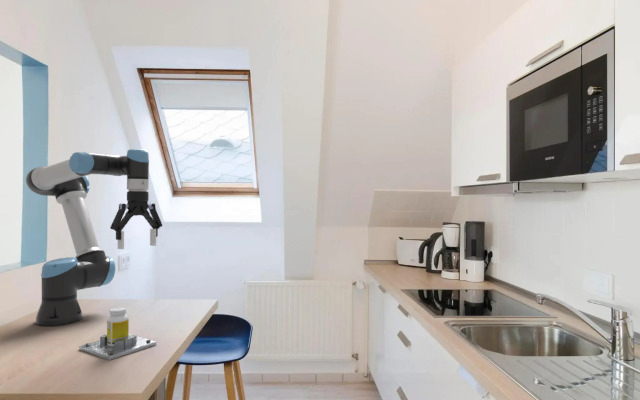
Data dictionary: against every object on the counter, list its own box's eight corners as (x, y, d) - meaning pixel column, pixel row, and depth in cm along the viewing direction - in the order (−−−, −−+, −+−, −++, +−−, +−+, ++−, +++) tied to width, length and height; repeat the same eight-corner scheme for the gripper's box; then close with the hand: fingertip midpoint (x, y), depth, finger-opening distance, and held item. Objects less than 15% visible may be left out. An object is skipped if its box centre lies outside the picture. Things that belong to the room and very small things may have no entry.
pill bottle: (132, 341, 139) (132, 307, 139) (120, 348, 133) (120, 312, 133) (115, 340, 140) (115, 306, 140) (102, 346, 134) (102, 311, 134)
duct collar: (79, 349, 134) (79, 338, 134) (126, 335, 148) (126, 325, 148) (109, 360, 126) (109, 348, 126) (156, 344, 139) (156, 333, 139)
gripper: (112, 190, 150) (112, 251, 150) (171, 191, 171) (171, 244, 171) (100, 190, 154) (99, 249, 154) (159, 191, 175) (159, 243, 175)
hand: (137, 247), depth 162 cm, fingers open, 13 cm apart
